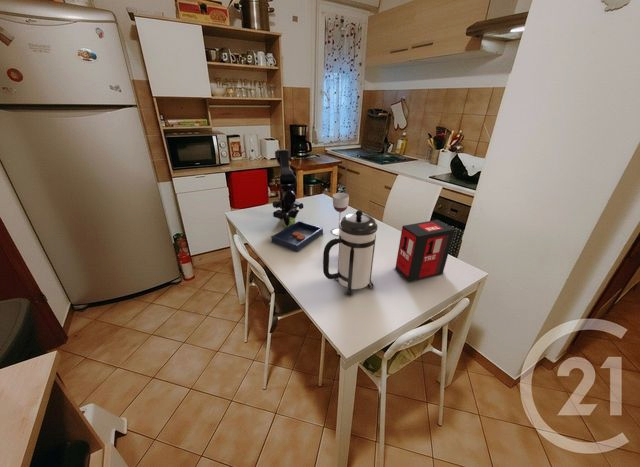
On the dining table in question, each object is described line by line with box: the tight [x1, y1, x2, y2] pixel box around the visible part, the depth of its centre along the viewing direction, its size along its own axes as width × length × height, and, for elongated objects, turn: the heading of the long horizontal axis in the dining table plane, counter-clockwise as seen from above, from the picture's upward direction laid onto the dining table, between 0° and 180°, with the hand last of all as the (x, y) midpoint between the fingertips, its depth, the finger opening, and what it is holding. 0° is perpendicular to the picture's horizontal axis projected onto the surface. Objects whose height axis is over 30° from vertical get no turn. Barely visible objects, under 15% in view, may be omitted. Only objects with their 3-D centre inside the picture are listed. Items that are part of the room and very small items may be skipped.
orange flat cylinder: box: [292, 232, 300, 237], centre depth 132 cm, size 4×4×1 cm
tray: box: [271, 220, 324, 253], centre depth 130 cm, size 22×16×3 cm
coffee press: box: [322, 209, 379, 296], centre depth 92 cm, size 17×16×30 cm
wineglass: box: [331, 192, 350, 236], centre depth 132 cm, size 8×9×20 cm
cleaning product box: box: [394, 219, 456, 283], centre depth 102 cm, size 16×9×20 cm, turn 110°
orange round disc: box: [297, 235, 305, 241], centre depth 129 cm, size 4×4×1 cm
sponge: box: [282, 217, 296, 228], centre depth 142 cm, size 4×5×4 cm
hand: (289, 224), depth 142 cm, fingers closed on sponge, 4 cm apart
